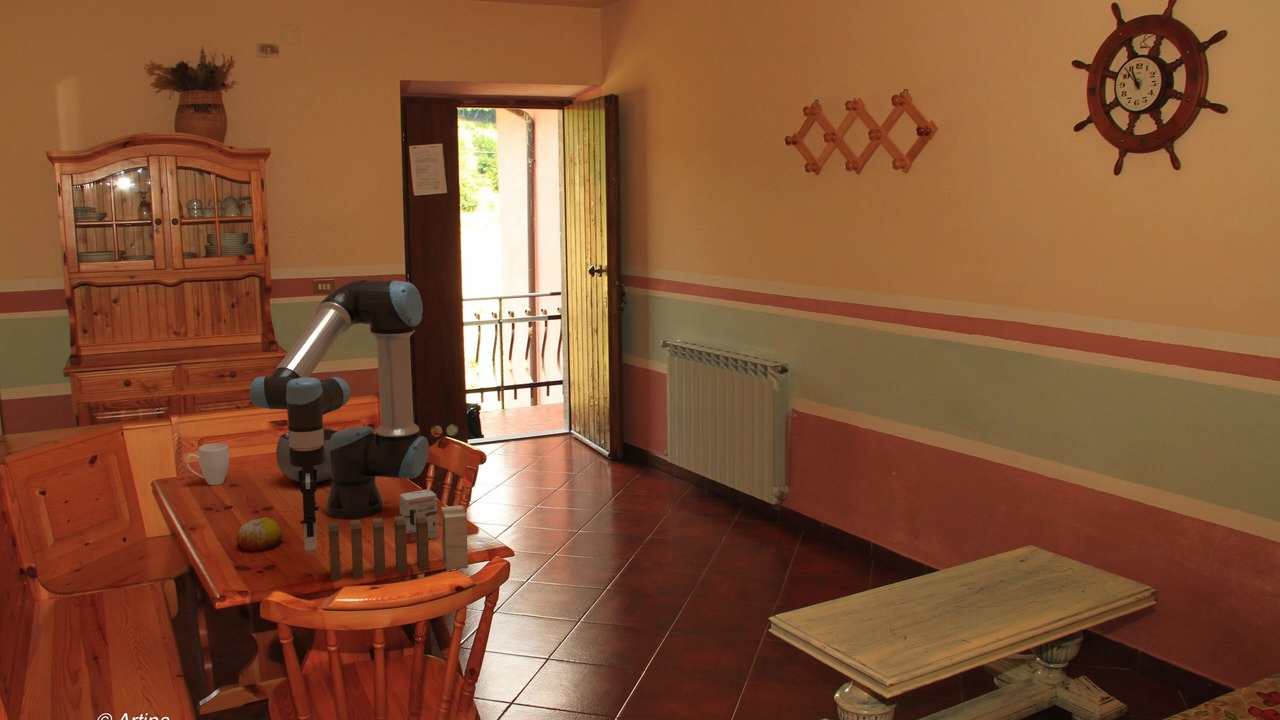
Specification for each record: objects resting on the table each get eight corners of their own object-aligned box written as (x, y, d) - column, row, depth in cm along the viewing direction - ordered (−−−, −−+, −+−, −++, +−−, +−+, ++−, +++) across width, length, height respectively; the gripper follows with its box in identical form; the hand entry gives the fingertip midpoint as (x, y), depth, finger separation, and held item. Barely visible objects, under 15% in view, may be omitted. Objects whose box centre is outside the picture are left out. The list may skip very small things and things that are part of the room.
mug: (227, 477, 305) (224, 441, 303) (233, 484, 299) (230, 447, 297) (185, 483, 299) (182, 447, 297) (190, 490, 292) (187, 453, 290)
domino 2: (330, 571, 233) (328, 522, 231) (340, 570, 234) (338, 521, 232) (330, 581, 228) (328, 531, 225) (340, 579, 228) (338, 530, 226)
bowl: (336, 491, 293) (334, 442, 290) (267, 490, 293) (264, 441, 291) (356, 471, 313) (354, 425, 311) (292, 470, 313) (289, 424, 311)
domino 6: (417, 562, 239) (415, 514, 237) (426, 561, 240) (425, 514, 238) (419, 571, 234) (418, 522, 232) (429, 570, 234) (427, 522, 232)
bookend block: (442, 558, 242) (441, 507, 240) (463, 555, 244) (462, 505, 241) (446, 570, 235) (445, 517, 232) (467, 567, 236) (466, 515, 234)
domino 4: (374, 566, 236) (372, 518, 234) (383, 565, 237) (382, 517, 235) (375, 576, 231) (373, 527, 228) (385, 575, 231) (383, 526, 229)
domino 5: (395, 564, 238) (394, 516, 236) (405, 563, 238) (403, 515, 236) (397, 573, 232) (396, 525, 230) (407, 572, 233) (405, 524, 231)
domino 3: (352, 569, 235) (350, 520, 233) (362, 568, 235) (360, 519, 233) (353, 578, 229) (351, 529, 227) (363, 577, 230) (361, 528, 228)
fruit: (244, 535, 255) (252, 507, 254) (283, 547, 255) (291, 519, 254) (226, 550, 244) (234, 520, 243) (267, 563, 244) (275, 533, 243)
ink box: (406, 543, 251) (405, 499, 249) (399, 537, 256) (398, 493, 253) (438, 537, 256) (437, 493, 254) (431, 531, 260) (430, 488, 258)
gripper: (290, 437, 231) (294, 532, 235) (287, 458, 214) (293, 560, 218) (323, 435, 234) (327, 529, 238) (324, 456, 216) (328, 557, 220)
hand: (311, 544), depth 228 cm, fingers closed on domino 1, 6 cm apart
